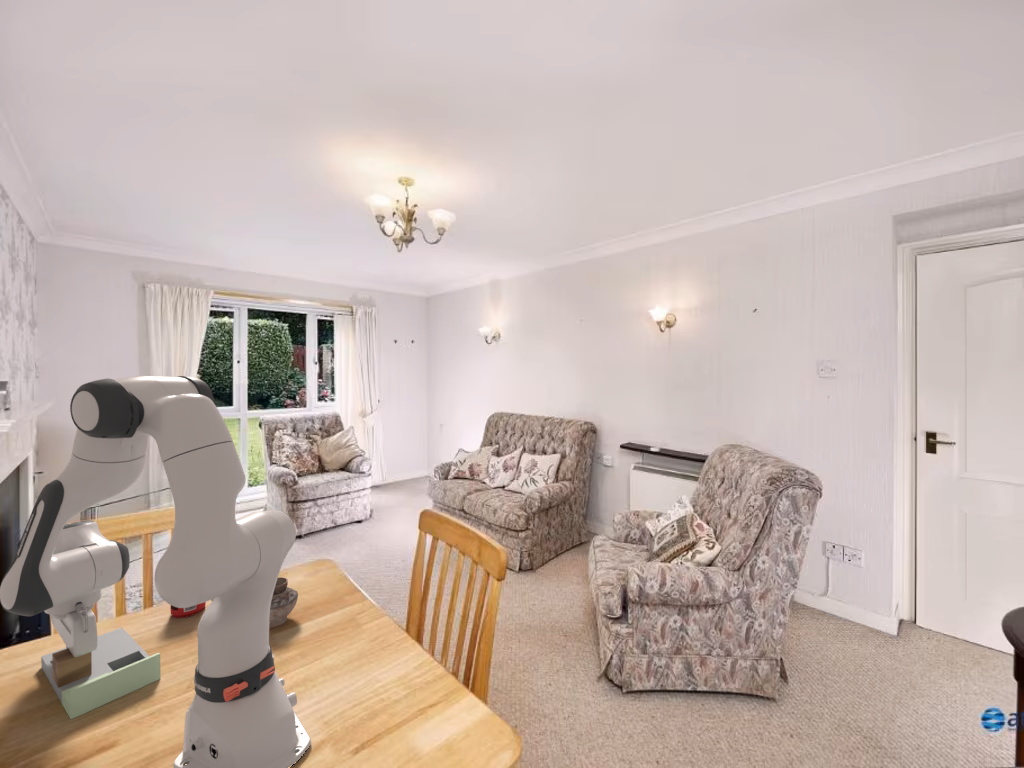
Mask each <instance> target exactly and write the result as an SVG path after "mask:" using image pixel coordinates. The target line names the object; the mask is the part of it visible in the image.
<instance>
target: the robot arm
mask: <svg viewBox="0 0 1024 768" xmlns="http://www.w3.org/2000/svg"><path fill="white" fill-rule="evenodd" d="M213 395H214V394H213V392H212V389H211V388H210V386H209V385H208V384H207V383H206V382H205V381H203V380H202V379H200V378H196V377H191V376H185V375H179V376H160V375H159V376H157V375H156V376H154V375H153V376H151V375H139V376H138V375H137V376H128V377H127V376H126V377H118V378H102V379H97V380H93V381H89V382H86V383H84V384H81V385H79V387H78V388H77V389H76V391H75V392H74V394H73V395H72V397H71V399H70V404H69V407H70V408H69V412H70V417H71V419H72V422H73V424H74V426H75V427H76V432H75V436H74V440H73V444H72V452H71V456H70V459H69V462H68V463H67V465H66V466H65V468H64V469H63V470H62V472H60V474H59V475H58V476H57V477H56V478H55V479H54V480H51V482H49V483H47V484H45V486H44V487H43V488H42V490H41V491H40V492H39V495H38V497H37V499H36V501H35V504H34V505H33V507H32V510H31V513H30V515H29V518H28V521H27V523H26V526H25V529H24V531H23V534H22V537H21V539H20V542H19V545H18V546H17V550H16V553H15V555H14V557H13V560H12V562H11V564H10V565H9V567H8V569H7V570H6V572H5V574H4V575H3V578H2V580H1V582H0V604H1V607H2V609H3V610H4V611H5V612H8V613H10V614H13V615H19V616H24V617H33V616H35V615H38V614H40V613H42V612H44V613H45V614H46V615H50V620H51V624H52V627H53V628H54V630H55V631H56V632H57V634H58V636H60V638H61V640H62V641H63V643H64V644H65V648H66V649H67V648H68V649H69V650H70V652H71V653H72V655H73V656H74V657H79V656H81V655H84V654H87V653H89V652H92V651H94V650H96V648H97V644H98V640H97V636H98V625H97V617H96V614H95V613H94V612H93V610H92V609H93V608H94V606H95V604H96V603H97V602H99V601H100V600H101V598H102V590H103V589H106V588H110V587H111V586H113V585H115V584H118V583H120V581H121V580H123V578H124V577H125V575H126V574H127V572H128V570H129V568H130V565H131V564H130V562H131V561H130V551H129V549H128V546H126V545H125V544H123V543H121V542H119V541H116V540H112V539H108V538H106V537H105V536H104V535H103V534H102V533H101V531H100V528H99V524H98V522H97V521H95V520H90V519H89V520H87V519H86V520H80V521H75V522H70V521H71V519H73V518H74V517H75V516H77V515H79V514H80V513H82V512H84V511H85V510H87V509H90V508H92V507H93V506H95V505H97V504H100V503H101V502H103V501H106V500H108V499H110V498H113V497H115V496H117V495H119V494H121V493H123V492H124V491H126V490H127V489H128V488H130V487H131V486H133V485H134V484H135V483H136V482H137V481H138V479H139V478H140V476H141V475H142V472H143V469H144V466H145V461H146V455H147V448H148V438H149V436H150V437H152V438H153V439H154V441H155V442H156V445H157V448H158V452H159V455H160V460H161V461H162V465H163V468H164V471H165V474H166V477H167V481H168V484H169V487H170V491H171V494H172V499H173V503H174V525H173V530H172V535H171V538H170V540H169V544H168V546H167V548H166V550H165V551H164V553H163V555H162V556H161V557H160V558H159V560H158V562H157V564H156V567H155V571H154V577H153V579H154V586H155V589H156V591H157V593H158V595H159V597H160V598H161V599H162V600H163V601H165V603H166V604H168V605H170V606H171V605H172V606H174V607H177V608H188V607H191V606H194V605H198V604H201V603H204V602H206V603H207V602H209V601H211V600H212V599H213V601H211V602H210V604H209V605H208V606H207V608H206V610H205V611H204V612H203V613H202V615H201V617H200V620H199V622H198V625H197V664H196V667H195V670H194V677H193V683H194V691H195V695H194V697H193V699H192V702H191V704H190V705H189V706H188V708H187V710H186V712H185V718H184V730H183V731H184V732H183V744H182V745H183V747H182V750H181V752H180V753H179V754H178V756H177V757H176V758H175V760H174V761H173V764H172V765H173V766H172V768H288V767H290V766H291V765H293V764H294V763H295V762H296V761H298V760H299V759H300V758H301V756H302V755H303V754H304V753H305V751H306V750H307V749H308V748H309V749H310V747H311V745H310V744H312V740H311V737H310V734H309V733H308V732H307V730H306V729H305V726H304V725H303V724H302V722H301V720H300V719H299V717H298V715H297V714H296V712H295V711H294V708H293V707H295V706H296V705H297V703H298V699H297V694H296V692H295V691H292V692H290V693H288V694H287V693H286V691H285V688H284V686H285V678H284V677H282V678H279V676H278V674H277V672H276V666H275V662H274V660H275V658H274V654H273V650H272V647H271V645H270V628H269V616H270V606H271V600H272V596H273V592H274V588H275V585H276V582H277V578H278V577H279V576H280V575H279V574H280V573H281V572H280V571H281V569H282V566H283V564H284V562H285V559H286V557H287V556H288V554H289V552H290V550H291V549H292V548H293V546H294V545H295V541H296V537H297V532H296V526H295V523H294V522H293V520H292V518H291V517H290V515H288V514H286V513H285V512H283V511H281V510H278V509H269V510H267V509H266V510H262V511H255V512H250V513H249V514H246V515H243V516H241V517H239V518H236V502H237V498H238V496H239V494H240V493H241V492H242V491H243V488H244V487H245V484H246V475H245V472H244V469H243V466H242V463H241V460H240V457H239V453H238V452H237V448H236V446H235V441H233V438H232V434H231V432H230V429H229V428H228V426H227V423H226V422H225V420H224V418H223V416H222V414H221V412H220V411H219V409H218V407H217V406H216V404H215V403H214V400H215V399H214V396H213ZM68 522H70V523H68ZM309 746H310V747H309ZM309 749H308V750H309ZM308 750H307V751H308ZM297 752H298V753H297ZM305 754H306V753H305ZM305 754H304V755H305ZM301 759H302V758H301ZM301 759H300V760H301ZM300 760H299V761H300ZM299 761H298V762H299ZM185 764H187V765H185ZM293 766H294V765H293Z"/></svg>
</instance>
